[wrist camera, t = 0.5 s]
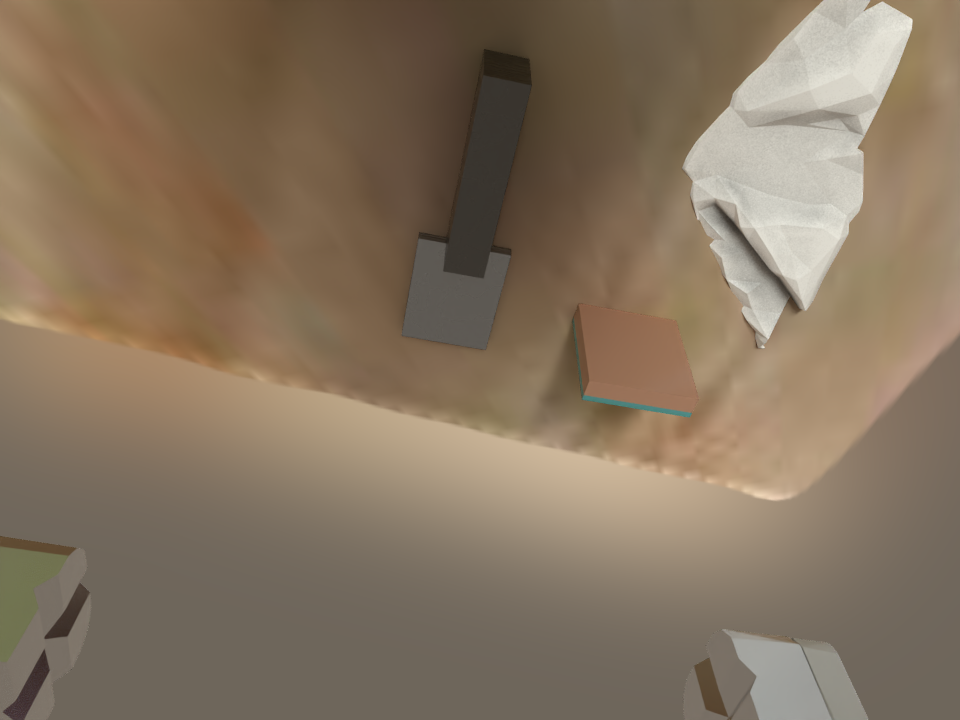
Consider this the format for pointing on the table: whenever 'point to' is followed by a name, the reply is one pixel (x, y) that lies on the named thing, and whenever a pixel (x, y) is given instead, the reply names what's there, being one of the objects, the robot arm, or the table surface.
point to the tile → (632, 361)
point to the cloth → (794, 156)
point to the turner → (472, 218)
